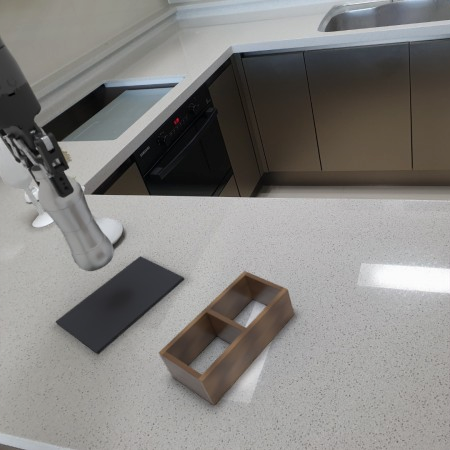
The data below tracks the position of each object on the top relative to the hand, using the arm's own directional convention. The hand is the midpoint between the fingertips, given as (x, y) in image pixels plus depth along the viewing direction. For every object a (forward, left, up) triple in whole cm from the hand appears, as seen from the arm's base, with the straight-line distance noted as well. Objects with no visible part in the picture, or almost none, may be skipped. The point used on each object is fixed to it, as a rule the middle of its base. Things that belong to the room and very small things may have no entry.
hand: (56, 189), depth 72 cm
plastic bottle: (0, 0, -16) cm, 16 cm away
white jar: (+12, +59, -26) cm, 65 cm away
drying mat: (0, 0, -26) cm, 26 cm away
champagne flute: (+8, +45, -26) cm, 53 cm away
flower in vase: (+9, +22, -26) cm, 35 cm away
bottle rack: (+4, -27, -26) cm, 37 cm away
